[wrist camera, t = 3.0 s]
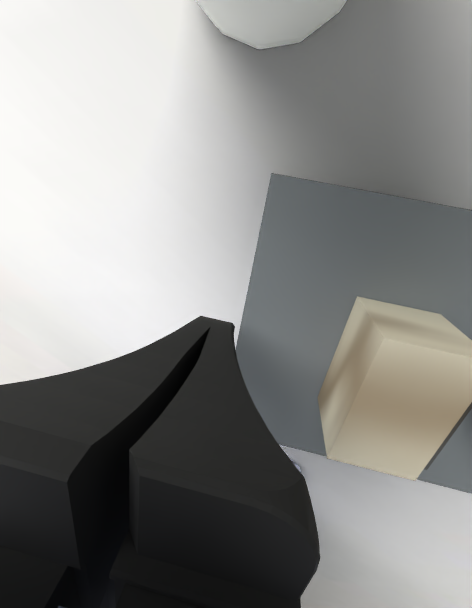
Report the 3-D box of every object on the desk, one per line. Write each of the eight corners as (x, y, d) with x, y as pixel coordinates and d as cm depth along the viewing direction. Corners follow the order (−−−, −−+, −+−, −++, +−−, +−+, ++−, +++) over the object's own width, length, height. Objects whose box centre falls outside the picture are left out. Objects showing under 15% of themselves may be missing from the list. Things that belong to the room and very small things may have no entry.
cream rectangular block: (394, 416, 12) (427, 483, 9) (317, 397, 12) (327, 458, 10) (451, 316, 10) (515, 367, 7) (357, 296, 10) (383, 338, 7)
